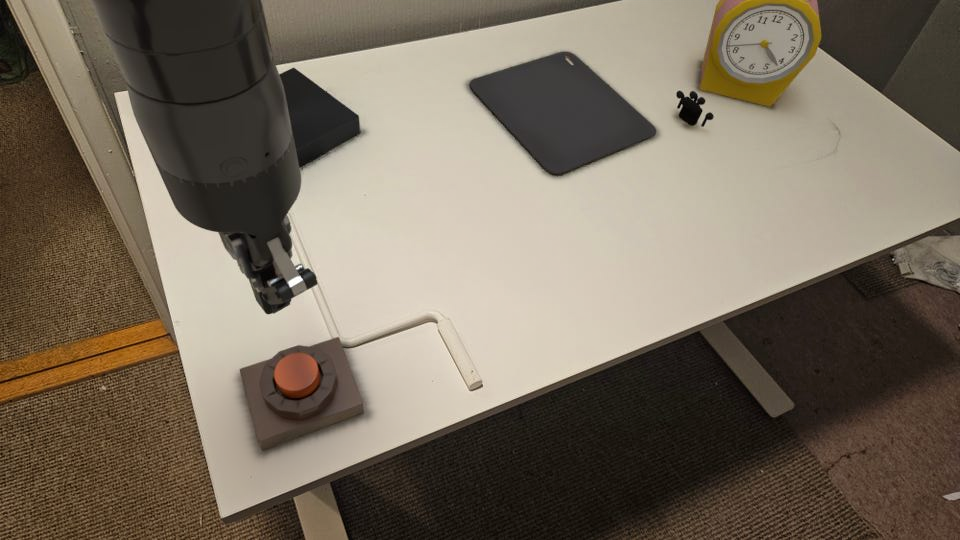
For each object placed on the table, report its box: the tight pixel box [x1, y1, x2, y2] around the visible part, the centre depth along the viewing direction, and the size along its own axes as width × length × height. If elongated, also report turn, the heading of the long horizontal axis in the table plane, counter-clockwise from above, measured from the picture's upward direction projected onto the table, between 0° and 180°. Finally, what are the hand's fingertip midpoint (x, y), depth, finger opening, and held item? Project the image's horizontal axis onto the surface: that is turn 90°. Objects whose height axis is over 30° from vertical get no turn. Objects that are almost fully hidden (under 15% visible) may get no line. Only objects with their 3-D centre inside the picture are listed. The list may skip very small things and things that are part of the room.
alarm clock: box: [699, 0, 822, 108], centre depth 93 cm, size 15×8×18 cm, turn 74°
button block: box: [239, 336, 365, 451], centre depth 60 cm, size 10×8×4 cm
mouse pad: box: [469, 51, 657, 175], centre depth 92 cm, size 23×20×1 cm
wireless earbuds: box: [675, 90, 715, 128], centre depth 91 cm, size 7×2×5 cm, turn 38°
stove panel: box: [279, 67, 361, 168], centre depth 81 cm, size 20×16×3 cm
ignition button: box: [274, 353, 320, 399], centre depth 58 cm, size 4×4×2 cm
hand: (274, 302), depth 48 cm, fingers closed
